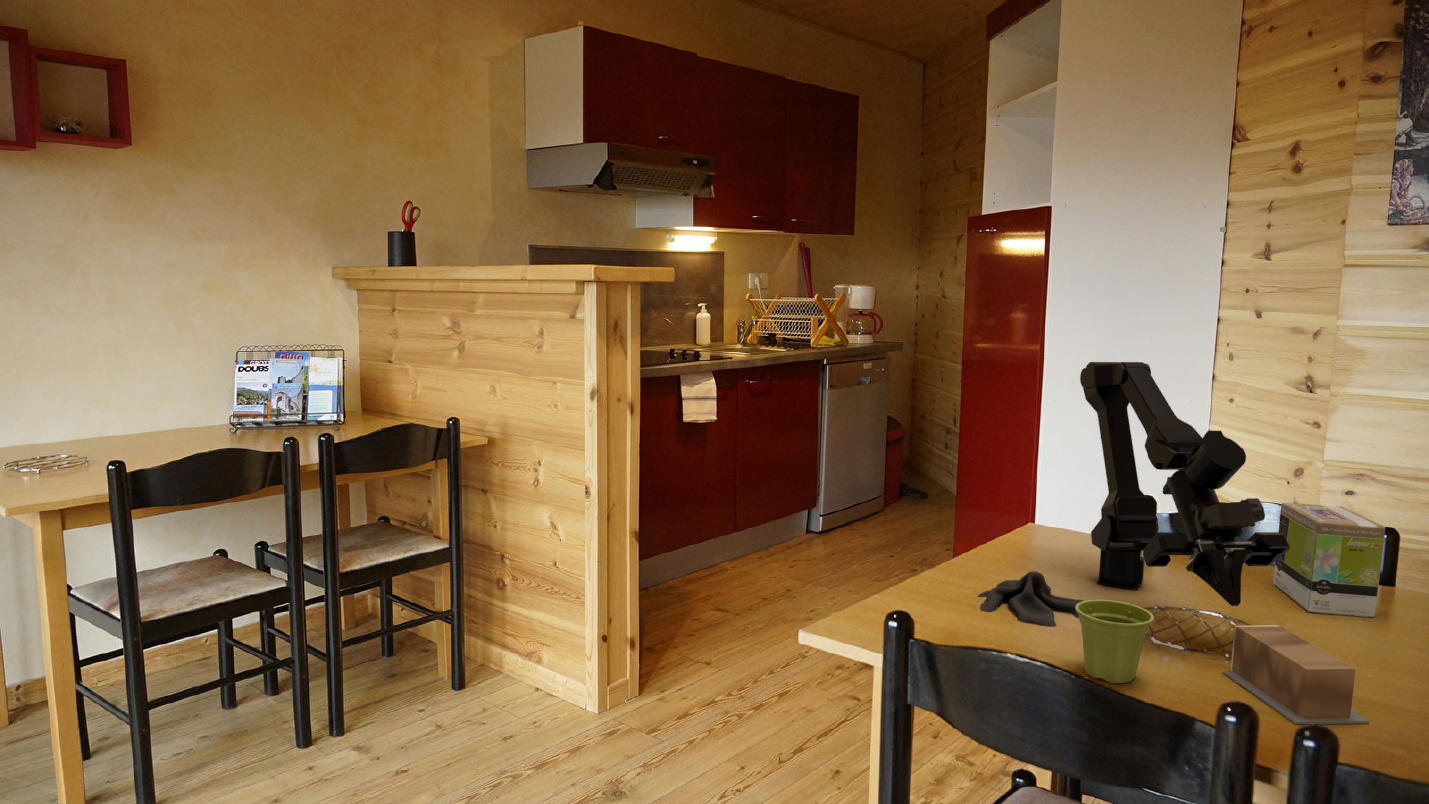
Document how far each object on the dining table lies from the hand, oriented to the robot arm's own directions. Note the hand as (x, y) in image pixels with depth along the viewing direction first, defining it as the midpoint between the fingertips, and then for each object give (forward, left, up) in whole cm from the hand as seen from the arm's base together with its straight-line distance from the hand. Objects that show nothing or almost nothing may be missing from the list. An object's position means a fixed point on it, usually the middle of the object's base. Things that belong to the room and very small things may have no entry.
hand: (1236, 604), depth 129 cm
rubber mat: (+7, -11, -7) cm, 14 cm away
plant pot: (-14, -15, -8) cm, 22 cm away
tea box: (+13, +35, -8) cm, 38 cm away
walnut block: (+2, -4, -4) cm, 6 cm away
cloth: (-29, +7, -8) cm, 31 cm away
